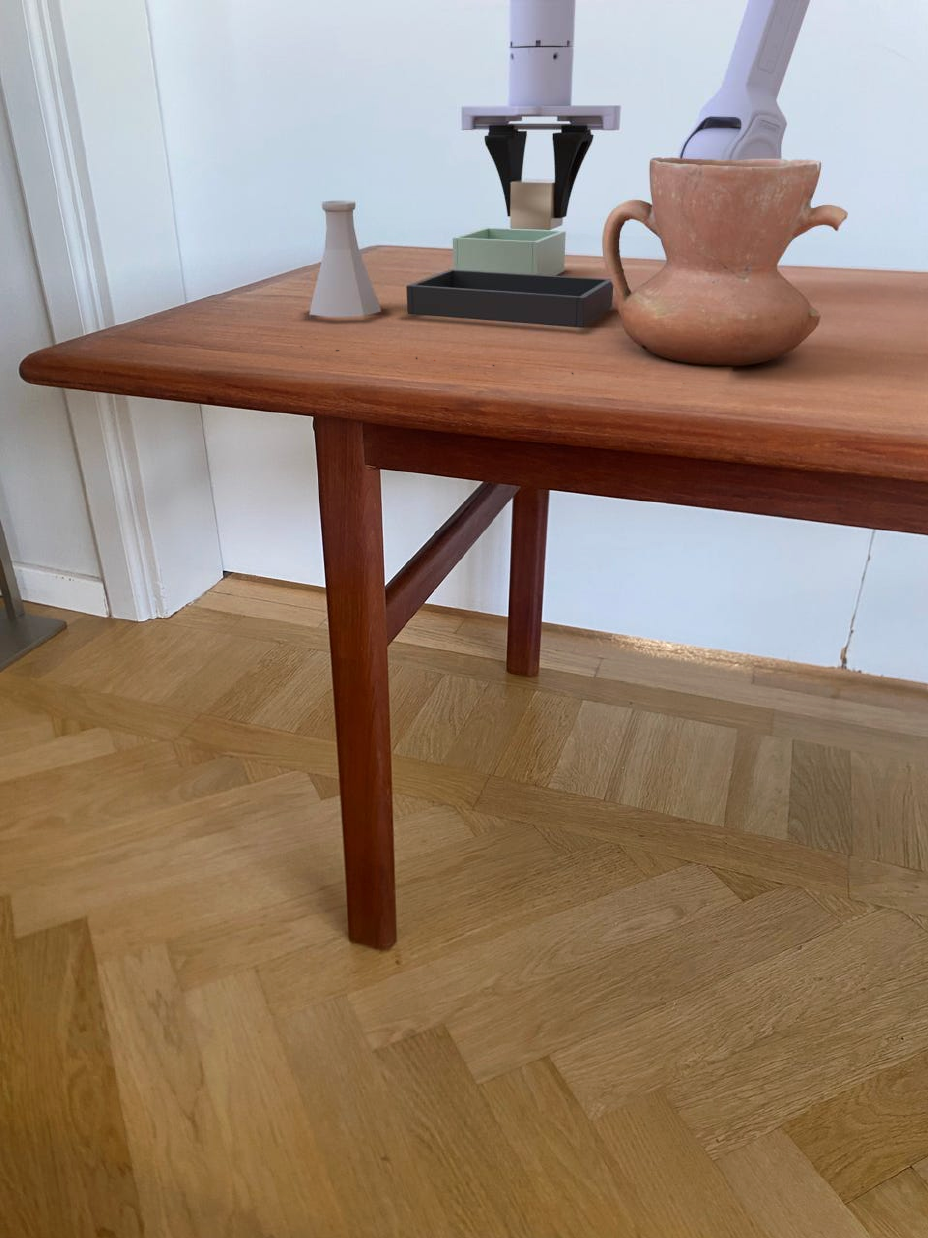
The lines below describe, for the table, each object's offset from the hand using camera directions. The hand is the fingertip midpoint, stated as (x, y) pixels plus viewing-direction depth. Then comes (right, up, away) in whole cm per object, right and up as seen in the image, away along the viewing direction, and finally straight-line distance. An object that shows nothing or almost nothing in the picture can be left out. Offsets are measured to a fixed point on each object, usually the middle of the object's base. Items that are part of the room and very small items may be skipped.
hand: (536, 216), depth 88 cm
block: (0, -1, 0) cm, 1 cm away
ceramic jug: (+12, -17, -13) cm, 25 cm away
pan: (-2, -9, +1) cm, 9 cm away
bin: (-2, +2, +21) cm, 21 cm away
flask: (-18, -9, +2) cm, 20 cm away
